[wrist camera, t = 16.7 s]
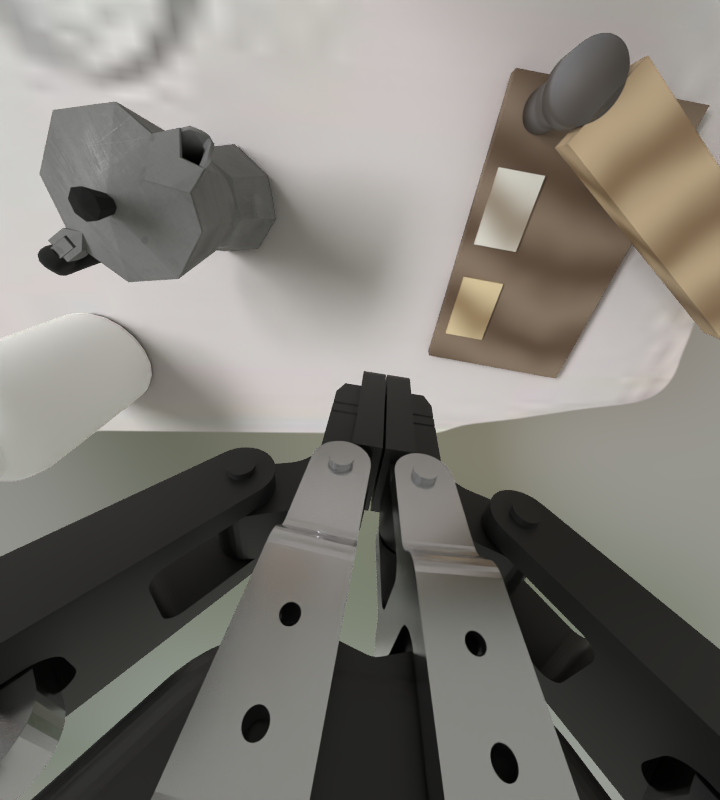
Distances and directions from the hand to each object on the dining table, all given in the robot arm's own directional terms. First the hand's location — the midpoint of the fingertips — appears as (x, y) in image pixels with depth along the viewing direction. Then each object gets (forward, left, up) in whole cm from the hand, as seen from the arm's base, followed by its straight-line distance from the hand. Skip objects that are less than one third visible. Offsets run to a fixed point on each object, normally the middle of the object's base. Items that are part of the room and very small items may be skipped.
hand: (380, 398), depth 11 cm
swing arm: (-8, +19, -20) cm, 29 cm away
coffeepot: (-2, -17, -27) cm, 32 cm away
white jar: (+18, -34, -27) cm, 47 cm away
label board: (-3, +14, -27) cm, 30 cm away
